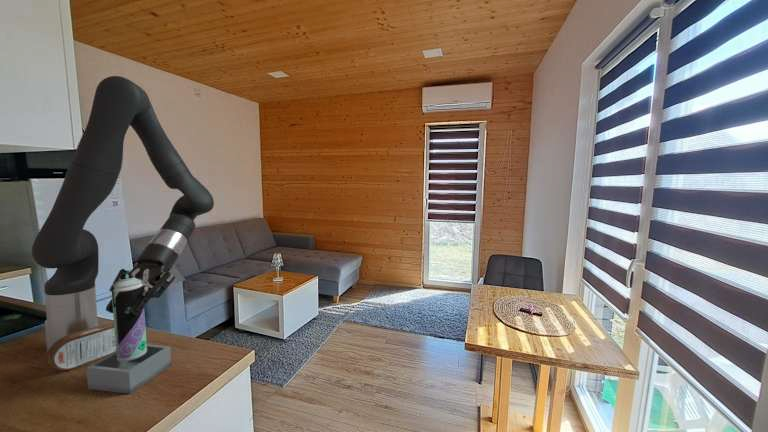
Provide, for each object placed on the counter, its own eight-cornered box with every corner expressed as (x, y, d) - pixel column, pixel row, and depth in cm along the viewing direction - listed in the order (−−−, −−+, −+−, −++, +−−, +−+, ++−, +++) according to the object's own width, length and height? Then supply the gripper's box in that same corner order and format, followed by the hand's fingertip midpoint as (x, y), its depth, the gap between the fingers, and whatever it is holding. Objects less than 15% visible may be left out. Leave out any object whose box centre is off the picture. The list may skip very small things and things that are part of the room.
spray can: (129, 362, 66) (123, 276, 64) (110, 359, 67) (103, 275, 66) (153, 349, 72) (147, 270, 70) (134, 347, 73) (129, 268, 71)
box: (87, 388, 65) (86, 367, 65) (133, 361, 76) (132, 342, 75) (130, 393, 64) (129, 372, 64) (171, 365, 74) (170, 346, 74)
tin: (125, 345, 83) (123, 317, 82) (130, 348, 82) (129, 319, 81) (46, 374, 70) (44, 340, 69) (51, 378, 68) (48, 344, 68)
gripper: (129, 241, 75) (79, 304, 65) (179, 243, 74) (137, 308, 63) (149, 256, 81) (106, 316, 70) (196, 258, 79) (160, 321, 69)
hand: (121, 312), depth 67 cm, fingers closed on spray can, 5 cm apart
